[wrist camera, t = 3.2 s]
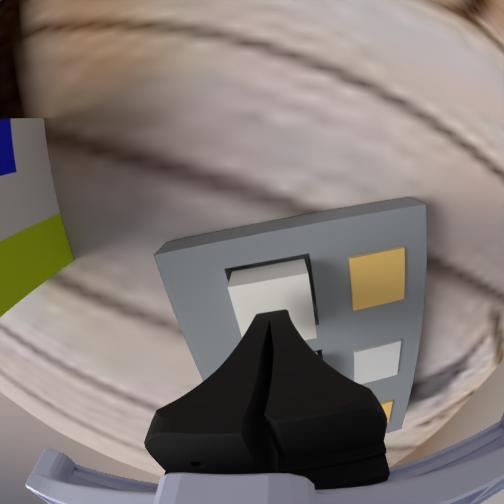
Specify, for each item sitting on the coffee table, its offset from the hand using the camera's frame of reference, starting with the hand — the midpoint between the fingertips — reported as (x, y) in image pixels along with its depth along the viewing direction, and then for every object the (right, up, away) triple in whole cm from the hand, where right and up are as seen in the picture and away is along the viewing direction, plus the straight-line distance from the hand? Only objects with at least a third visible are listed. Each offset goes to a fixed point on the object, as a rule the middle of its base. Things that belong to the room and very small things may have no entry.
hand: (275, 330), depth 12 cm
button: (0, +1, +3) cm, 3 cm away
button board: (+3, -4, +6) cm, 8 cm away
